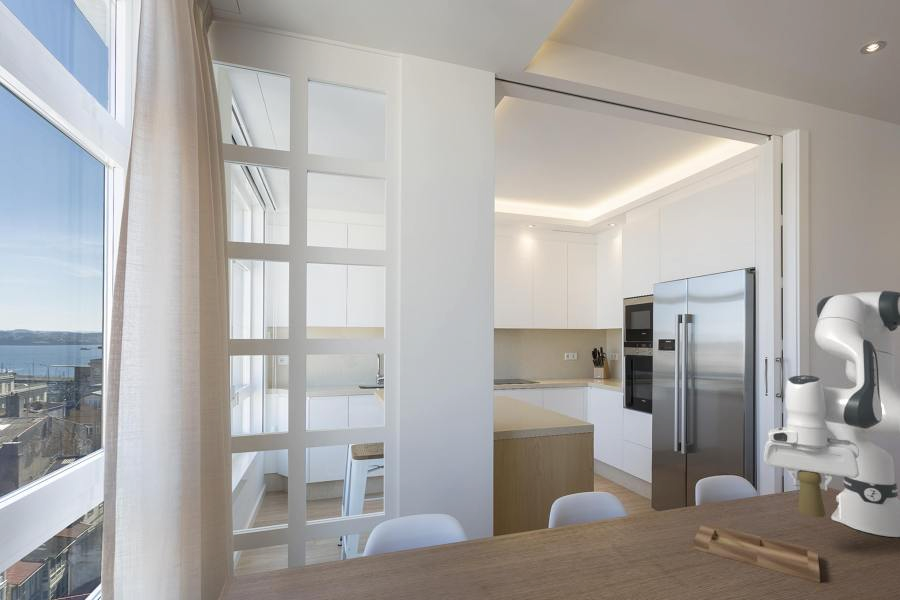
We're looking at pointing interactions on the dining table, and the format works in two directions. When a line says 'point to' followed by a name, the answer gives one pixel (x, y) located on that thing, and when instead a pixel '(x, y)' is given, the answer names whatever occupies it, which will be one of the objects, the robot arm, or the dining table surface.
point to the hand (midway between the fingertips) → (810, 487)
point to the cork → (810, 494)
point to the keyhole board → (759, 551)
